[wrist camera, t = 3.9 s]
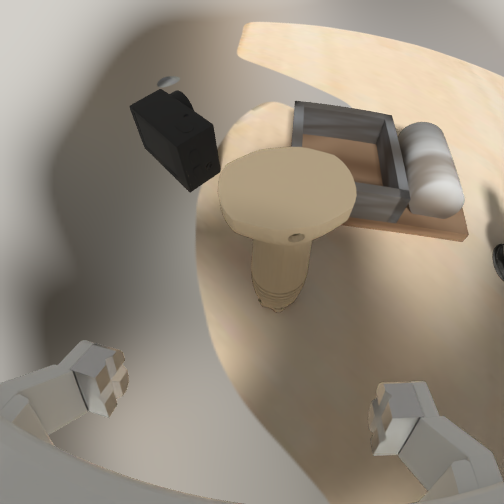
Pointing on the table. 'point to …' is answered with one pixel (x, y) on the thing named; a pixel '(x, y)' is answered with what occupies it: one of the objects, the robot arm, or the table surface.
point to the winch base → (388, 169)
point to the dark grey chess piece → (499, 260)
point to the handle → (284, 212)
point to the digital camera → (177, 137)
